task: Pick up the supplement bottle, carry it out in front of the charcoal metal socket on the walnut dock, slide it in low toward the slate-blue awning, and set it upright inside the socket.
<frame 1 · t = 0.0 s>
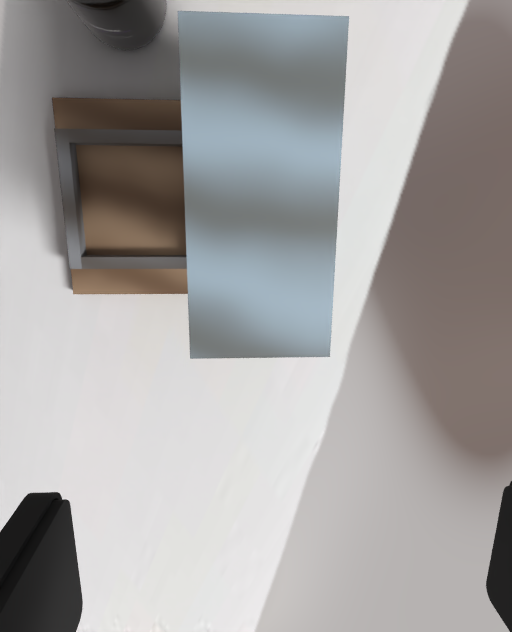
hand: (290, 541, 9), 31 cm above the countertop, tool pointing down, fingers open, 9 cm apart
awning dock: (223, 202, 37), on the countertop
supplement bottle: (125, 5, 33), on the countertop
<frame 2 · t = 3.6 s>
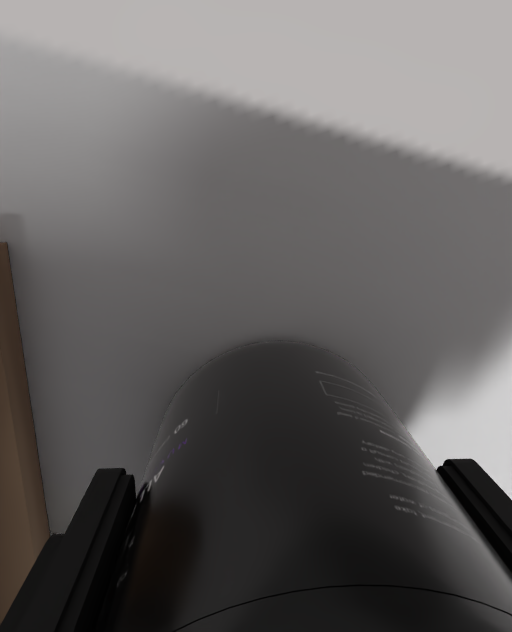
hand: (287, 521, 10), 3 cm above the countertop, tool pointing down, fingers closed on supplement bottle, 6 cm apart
supplement bottle: (272, 438, 13), on the countertop, touching gripper
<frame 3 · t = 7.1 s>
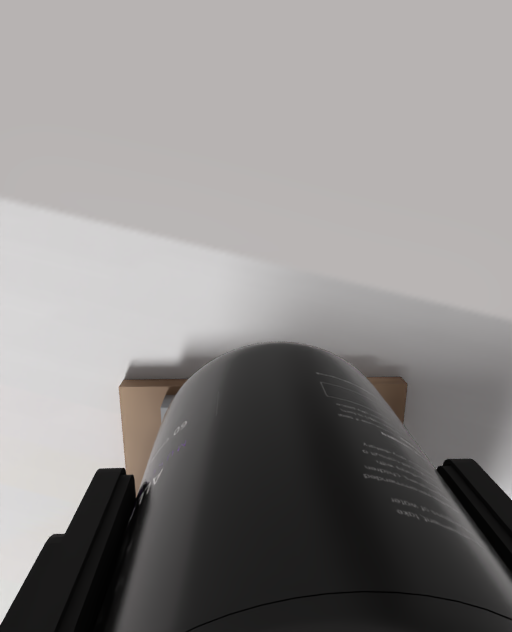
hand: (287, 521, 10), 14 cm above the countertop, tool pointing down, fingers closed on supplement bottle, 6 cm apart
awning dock: (261, 568, 28), on the countertop
supplement bottle: (273, 439, 13), point 11 cm above the countertop, touching gripper
when the fingers open (5 cm above the countertop, at t = 10.4 s): supplement bottle stays where it is, resting on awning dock.
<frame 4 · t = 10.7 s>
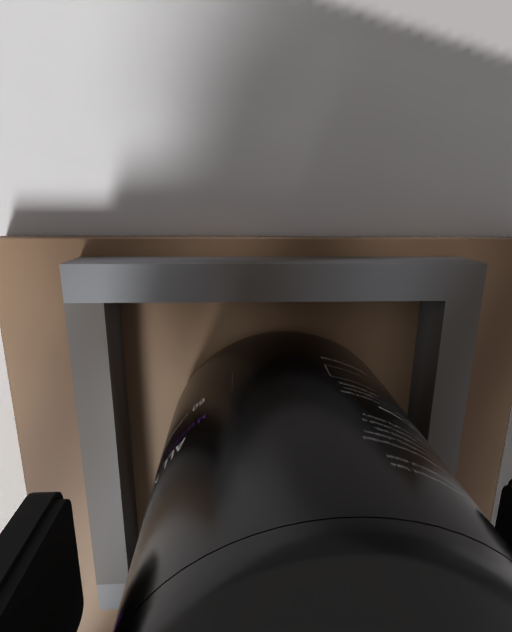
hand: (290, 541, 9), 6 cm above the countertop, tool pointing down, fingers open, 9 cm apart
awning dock: (265, 583, 16), on the countertop
supplement bottle: (278, 423, 14), point 1 cm above the countertop, touching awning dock
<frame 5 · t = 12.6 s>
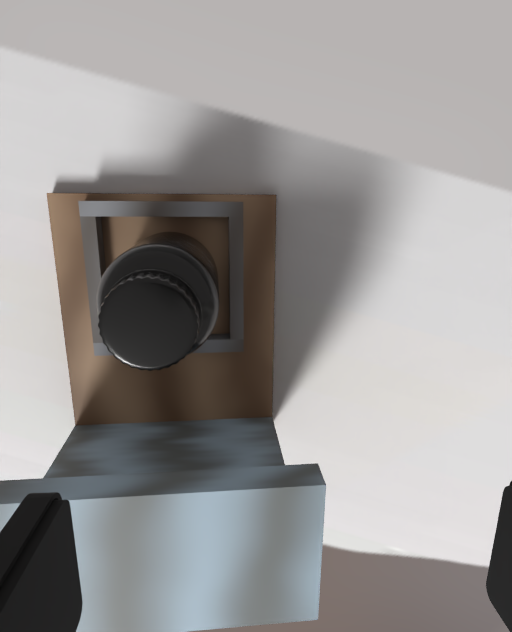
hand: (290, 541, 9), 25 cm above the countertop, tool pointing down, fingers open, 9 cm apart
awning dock: (174, 365, 34), on the countertop
supplement bottle: (172, 277, 31), point 1 cm above the countertop, touching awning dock
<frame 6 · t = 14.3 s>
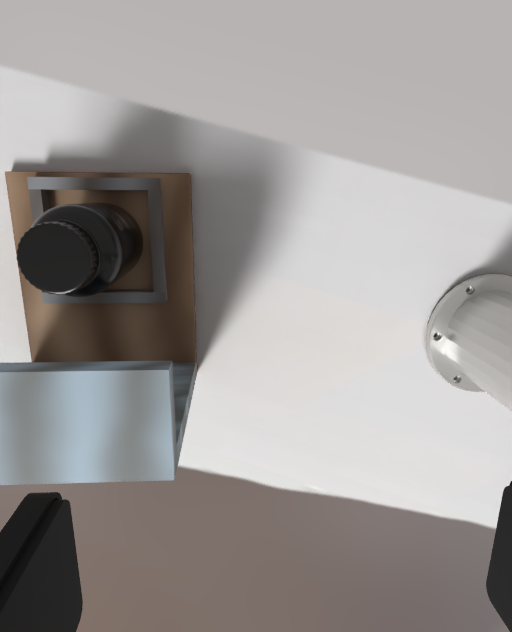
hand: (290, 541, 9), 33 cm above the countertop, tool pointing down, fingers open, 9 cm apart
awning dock: (113, 317, 41), on the countertop
supplement bottle: (108, 241, 39), point 1 cm above the countertop, touching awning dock
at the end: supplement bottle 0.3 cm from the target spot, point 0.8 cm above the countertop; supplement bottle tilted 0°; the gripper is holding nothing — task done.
